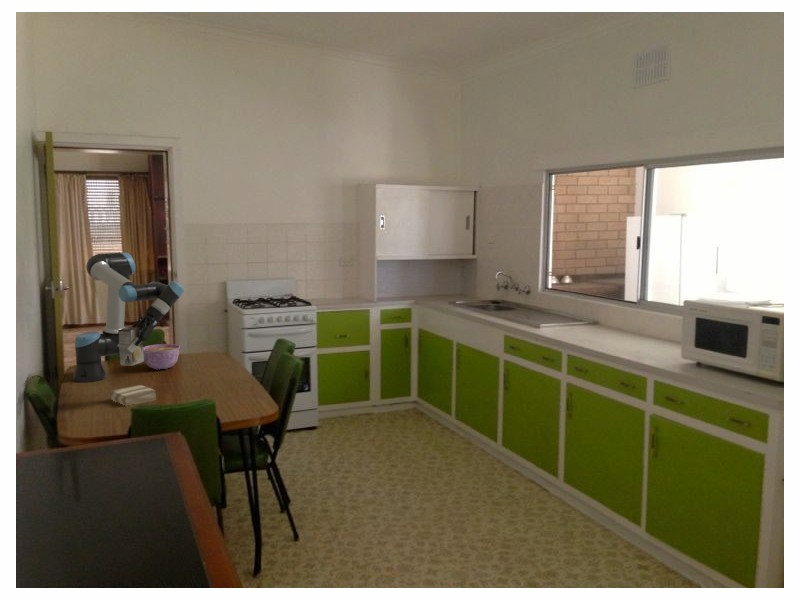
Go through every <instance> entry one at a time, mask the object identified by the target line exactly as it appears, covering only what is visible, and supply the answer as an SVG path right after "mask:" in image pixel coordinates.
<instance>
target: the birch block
mask: <svg viewBox="0 0 800 600" xmlns="http://www.w3.org/2000/svg"><path fill="white" fill-rule="evenodd" d="M156 393H157V391H156V389H153V388H151V387H148V386H145V385H142V384H138V385H133V386H126V387H122V388H116V389H111V390H110V401H111V400H113V401H112V402H114V401H115V402H114V403H116V402H118V403H117V404H119V403H120V404H119V405H121V404H123V405H122V406H124V405H125V406H124V407H128V406H127V405H131V406H133V405H132V404H136V405H139V404H143V403H144V404H145V403H149V402H153V401H157V397H156V396H157V395H156Z"/></svg>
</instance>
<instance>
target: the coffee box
mask: <svg viewBox="0 0 800 600" xmlns="http://www.w3.org/2000/svg"><path fill="white" fill-rule="evenodd" d="M141 331H142V327H131V326H128V327H125V328H124V329H120V330H118V333H119V349H120V354H119V364H120V366H128V367H129V366H131V367H133V366H136V365H138V364H141V363H143V362H145V360H144V349H143V347H144V341H142V342H141V343H140V344H139V345H138V347H137V348H136V349H135V350H134V351H133V353H131V352H130V351H129V350H128V347H129V346H130V345H131V344H132V343H133V341H134V340H135V339H136V338H138V337H137V336H139V335H140V333H141Z"/></svg>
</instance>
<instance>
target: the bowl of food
mask: <svg viewBox="0 0 800 600" xmlns="http://www.w3.org/2000/svg"><path fill="white" fill-rule="evenodd" d="M143 349H144V362H145V364H146V365H147V366H148V367H149V368H151V369H153V370H155V369H156V370H155V371H157V370H158V369H159V370H158V371H161V370H160V369H165V370H169V369H170V368H171V367H173V366H175V364H176V363H177V362H178V358H179V355H180V349H181V345H179V344H175V343H174V344H173V343H161V344H160V343H158V344H151V345H145V346H143ZM168 368H169V369H168Z"/></svg>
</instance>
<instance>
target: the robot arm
mask: <svg viewBox="0 0 800 600" xmlns="http://www.w3.org/2000/svg"><path fill="white" fill-rule="evenodd" d="M86 272H87V274H88V275H89V276H90V277H91V278H92V279H93V280H95V281H101V282H102V283H104V284H105V285H107V300H106V319H105V320H106V323H105V326H104V327H103V328H102V333H100V331H87V332H83V333H80V334H78V335H77V336H76V337H75V339H74V348H75V349H74V350H75V363H76V364H75V368H74V371H73V375H72V380H73V381H74V382H76V383H77V382H78V383H92V382H98V381H102V380H105V379H106V378H107V374H106V373H107V372H106V370H105V368H104V365H103V364H102V357H107V356H113V355H120V349H119V333H118V330H120V329H124V328H126V327H125V317H126V316H125V314H126V312H125V311H126V303H133V302H140V301H149V300H150V301H151V300H152V301H153V300H154V301H153V302H152V303H151V305H150V306H148V308H147V309H146V310H145V314H146V315H145V316H144V317H143V316H140V317H139V319H137V321H135V322H134V324H132V326H130V327H142V331H141V333H140V335H139V336H137V337H138V338H136V339H135V340H134V341H133V343H132V344H131V345H130V346H129V347H128V350H129V351H130V352H131V353H133V351H134V350H135V349H136V348H137V347H138V345H139V344H140V343H141V342H142V341H143V342H144V341H147V340H148V338H149V337H150V336H151V334H152V332H153V331H154V329H155V328H156V326H157V325H158V323H159V322H160V321H161V320H162V319H163V318H164V316H165V315H166V314H167V313H168V312H169V310H170V309H171V308H172V307H173V306H174V305H175V303H176V302H177V301H178V300H179V298H181V296H182V295H183V293H184V292H185V289H184V287H183V286H182V285H181V284H180V283H178V282H177V281H175V280H171V281H170V282H169V283H168V284H164V283H163V282H159V281H151V282H149V283H143V284H142V283H141V284H136V283H134V282H133V281H131V280H130V279H131V276H132V275H134V274H135V272H136V264H135V261H134V258H133V257H132V255H131V254H130V253H128V252H119V251H118V252H105V253H102V252H101V253H96V254H94V255H92V256H91V257H90V258H89V259H87V263H86Z"/></svg>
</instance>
